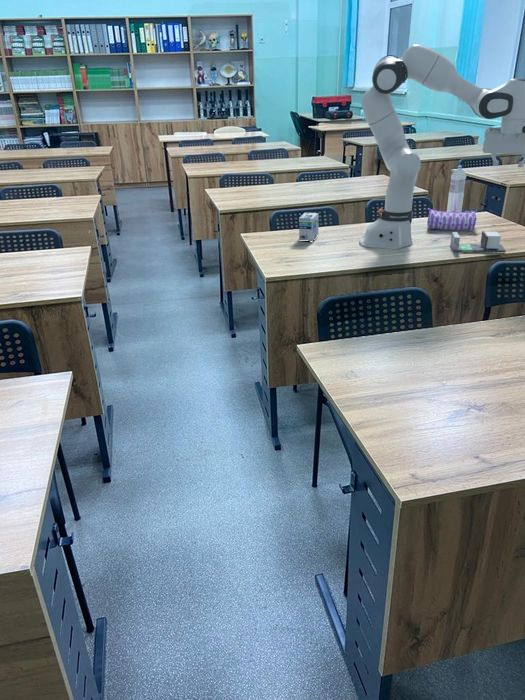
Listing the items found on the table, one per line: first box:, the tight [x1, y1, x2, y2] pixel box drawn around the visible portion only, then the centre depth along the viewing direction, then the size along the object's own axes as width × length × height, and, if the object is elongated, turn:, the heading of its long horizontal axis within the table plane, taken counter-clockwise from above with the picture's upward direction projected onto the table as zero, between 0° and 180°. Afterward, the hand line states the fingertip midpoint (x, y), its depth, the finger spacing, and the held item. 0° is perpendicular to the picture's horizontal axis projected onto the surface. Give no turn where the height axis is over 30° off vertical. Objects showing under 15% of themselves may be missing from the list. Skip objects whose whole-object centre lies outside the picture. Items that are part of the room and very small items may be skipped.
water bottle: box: [446, 165, 467, 212], centre depth 252 cm, size 7×7×25 cm
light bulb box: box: [298, 212, 320, 241], centre depth 234 cm, size 11×7×11 cm, turn 161°
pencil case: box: [426, 207, 478, 232], centre depth 239 cm, size 22×9×9 cm, turn 76°
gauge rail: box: [449, 231, 506, 254], centre depth 212 cm, size 20×8×6 cm, turn 80°
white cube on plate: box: [480, 230, 502, 249], centre depth 210 cm, size 6×8×5 cm, turn 170°
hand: (508, 166), depth 200 cm, fingers open, 8 cm apart
